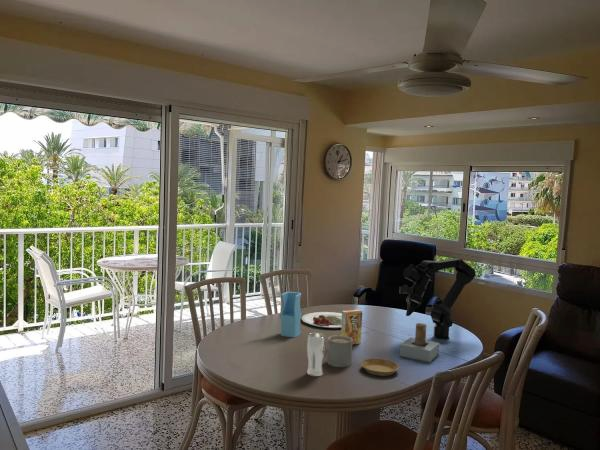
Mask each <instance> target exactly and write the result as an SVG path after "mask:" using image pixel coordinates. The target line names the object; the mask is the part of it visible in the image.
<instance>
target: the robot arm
mask: <svg viewBox="0 0 600 450" xmlns="http://www.w3.org/2000/svg"><path fill="white" fill-rule="evenodd" d="M453 268H454V271H455V272H456V274H455V281H454V283H453V284H452V286H451V287H450V289H449V291H448V292H447V294H446V295H445V297H444V299H443V301H442V302H440V304H437V303H436V304H434V306H433V308H432V309H431V313H430V317H431V320H432V323H433V324H434V326H433V336H434V337H435V339H445V340H446V339H447V340H448V339H449V340H450V327H452V326H453V324H454V322H453V321H452V319H451V318H450V317H451V310H452V307H453V306H454V304H455V302H456V301H457V299H458V298H459V295H460V294H461V292H462V291H463V289H465V286H466V285H468V284H470V283H471V282H472V281H473V280H474V279H475V277H476V275H477V274H476V270H475V268H473V267H472V266H470V265H469V264H467V263H466V262H465V261H464V260H463V259H462V258H458V257H454V258H448V259H443V260H436V261H435V260H422V261H421V263H419V264H417V265H416V266H415V265H414V264H408V266H406V268H404V270H403V272H402V275H403V277H404V278H405V279H407V280H409V281H411V282H413V285H412V286H408V284H403V285H402V286H399V294H400V295H402V294H406V295H407V294H408V295H407V297H406V300H405V301H406V303H407V309H406V312H405V316H406V317H411V315H412V314H413V313H414V312H415V311H416V309H418V308H419V307H420V306H421V305H422V303H423V301H424V299H423V296H424V294H425V292H426V290H427V286H428V284H429V282H430V281H432V282H433V281H434V279H433V276H432V275H433V274H436V273H438V272H439V271H441V270H442V271H443V270H447V269H453Z"/></svg>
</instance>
